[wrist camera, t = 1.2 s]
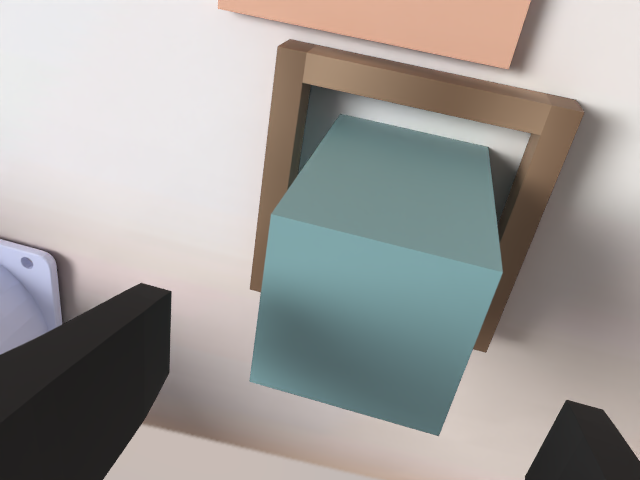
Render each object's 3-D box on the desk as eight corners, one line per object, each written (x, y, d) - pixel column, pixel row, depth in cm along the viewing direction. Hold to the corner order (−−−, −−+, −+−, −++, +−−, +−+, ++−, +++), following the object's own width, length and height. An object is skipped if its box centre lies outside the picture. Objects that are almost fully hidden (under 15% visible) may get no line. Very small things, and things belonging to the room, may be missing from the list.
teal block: (317, 239, 19) (249, 381, 13) (340, 113, 17) (271, 214, 11) (446, 272, 18) (438, 435, 12) (488, 147, 16) (503, 272, 10)
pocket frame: (260, 270, 20) (249, 289, 19) (289, 39, 16) (277, 46, 15) (484, 329, 19) (485, 352, 18) (576, 100, 15) (584, 111, 14)
